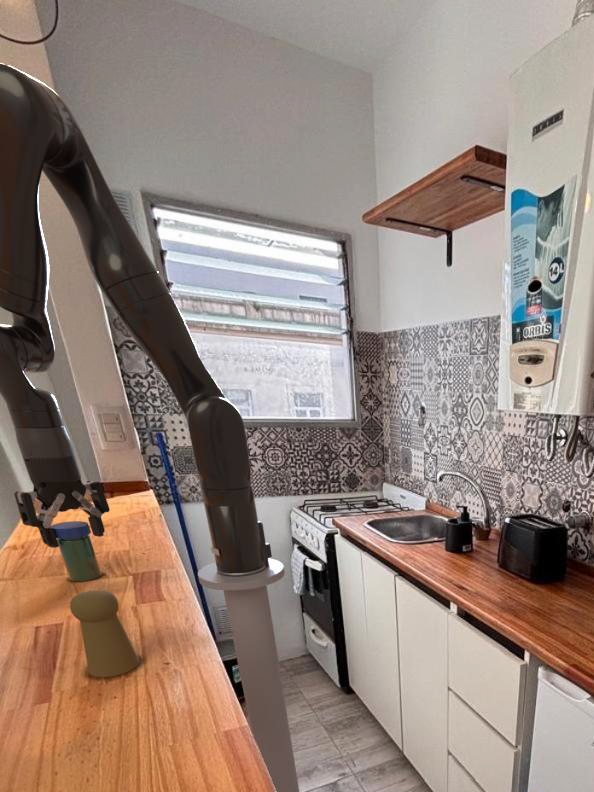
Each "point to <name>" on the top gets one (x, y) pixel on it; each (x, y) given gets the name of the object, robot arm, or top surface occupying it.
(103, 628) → the cork
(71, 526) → the jar lid
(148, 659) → the top surface
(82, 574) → the jam jar
